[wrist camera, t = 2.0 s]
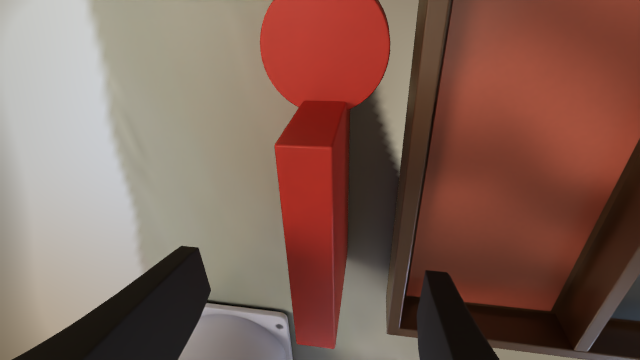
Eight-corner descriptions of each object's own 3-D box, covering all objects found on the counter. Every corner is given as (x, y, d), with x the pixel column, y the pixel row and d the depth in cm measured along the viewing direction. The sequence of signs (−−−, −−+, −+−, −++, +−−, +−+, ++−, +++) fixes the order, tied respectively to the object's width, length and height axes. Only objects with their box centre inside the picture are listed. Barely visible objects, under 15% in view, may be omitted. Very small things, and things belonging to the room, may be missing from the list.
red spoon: (373, 254, 18) (370, 354, 13) (293, 247, 18) (263, 340, 14) (394, -29, 11) (402, -34, 6) (268, -24, 12) (190, -26, 7)
